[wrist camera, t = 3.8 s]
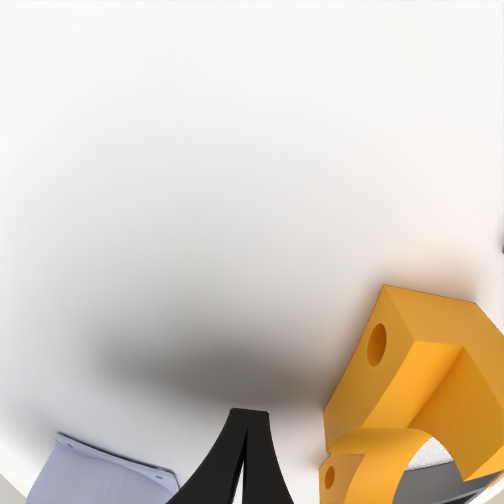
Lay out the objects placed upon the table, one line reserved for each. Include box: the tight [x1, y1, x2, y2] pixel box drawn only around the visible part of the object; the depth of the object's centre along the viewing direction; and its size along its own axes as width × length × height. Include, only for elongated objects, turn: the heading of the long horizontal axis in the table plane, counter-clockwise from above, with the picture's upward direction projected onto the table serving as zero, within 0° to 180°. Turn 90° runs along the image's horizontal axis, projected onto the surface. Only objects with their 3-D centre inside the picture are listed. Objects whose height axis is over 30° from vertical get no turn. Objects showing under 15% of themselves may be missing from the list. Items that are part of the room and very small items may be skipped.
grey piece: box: [392, 251, 504, 504], centre depth 10 cm, size 10×24×6 cm, turn 176°
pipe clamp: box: [319, 284, 504, 504], centre depth 9 cm, size 12×4×6 cm, turn 169°
